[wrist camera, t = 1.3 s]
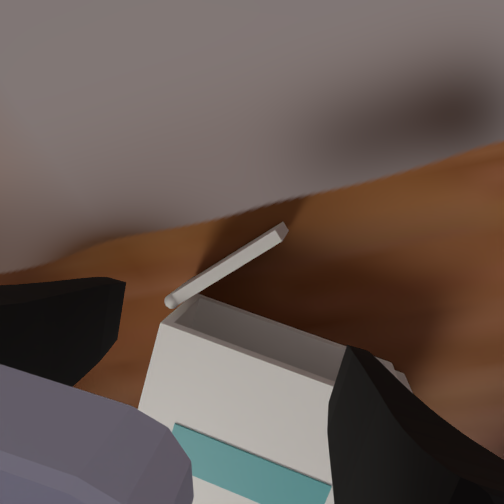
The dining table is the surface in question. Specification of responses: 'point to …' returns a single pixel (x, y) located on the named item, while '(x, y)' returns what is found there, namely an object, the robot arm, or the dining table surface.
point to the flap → (227, 265)
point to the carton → (246, 403)
